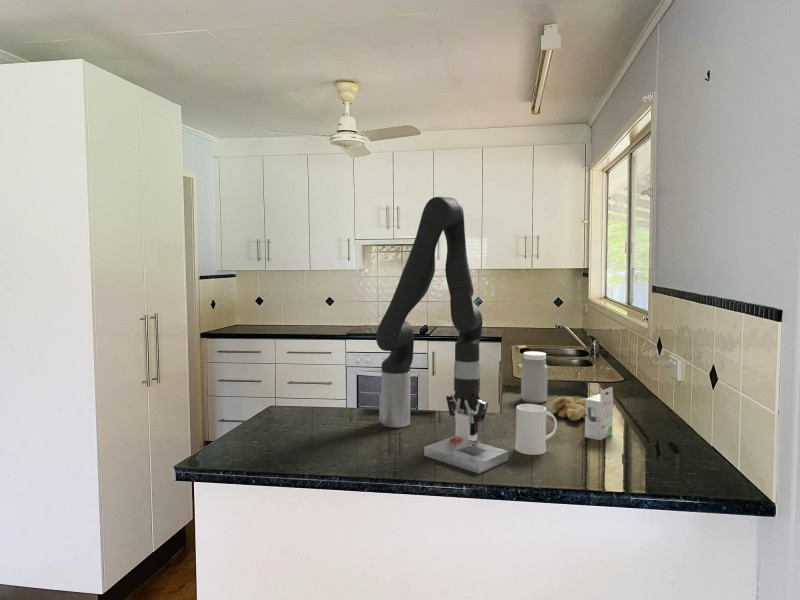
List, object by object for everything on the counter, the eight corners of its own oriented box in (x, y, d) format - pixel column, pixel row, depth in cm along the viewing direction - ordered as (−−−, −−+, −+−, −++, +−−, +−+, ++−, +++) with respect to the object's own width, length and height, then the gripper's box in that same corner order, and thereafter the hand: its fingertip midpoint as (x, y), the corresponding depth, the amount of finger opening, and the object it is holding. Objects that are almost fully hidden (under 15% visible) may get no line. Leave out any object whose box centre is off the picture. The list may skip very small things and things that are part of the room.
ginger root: (566, 403, 199) (570, 383, 196) (603, 424, 186) (608, 403, 184) (535, 411, 190) (539, 390, 188) (571, 434, 178) (576, 411, 175)
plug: (455, 440, 162) (455, 405, 161) (464, 436, 165) (465, 402, 164) (467, 443, 159) (468, 408, 158) (477, 440, 162) (477, 405, 161)
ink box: (597, 431, 171) (598, 383, 170) (612, 434, 167) (614, 386, 166) (583, 437, 165) (584, 388, 164) (599, 441, 161) (601, 391, 160)
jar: (552, 401, 207) (553, 353, 206) (534, 405, 202) (535, 356, 200) (532, 396, 215) (533, 350, 214) (515, 399, 210) (516, 352, 208)
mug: (552, 444, 158) (553, 403, 158) (562, 454, 150) (563, 411, 149) (511, 444, 158) (512, 403, 157) (519, 455, 149) (519, 411, 149)
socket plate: (424, 455, 149) (424, 444, 149) (454, 444, 158) (454, 433, 158) (479, 473, 136) (479, 461, 136) (508, 460, 146) (508, 448, 145)
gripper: (439, 373, 163) (439, 430, 164) (479, 381, 153) (478, 441, 154) (455, 370, 168) (455, 425, 170) (494, 377, 158) (494, 435, 160)
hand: (466, 432), depth 162 cm, fingers closed on plug, 4 cm apart
